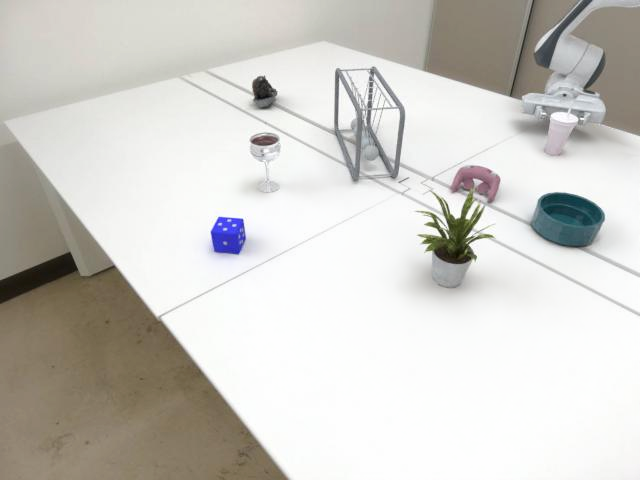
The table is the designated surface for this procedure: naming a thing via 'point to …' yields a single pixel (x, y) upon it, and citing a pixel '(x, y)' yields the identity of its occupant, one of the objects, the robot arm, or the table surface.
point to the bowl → (567, 218)
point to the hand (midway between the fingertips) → (561, 119)
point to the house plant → (453, 243)
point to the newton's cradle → (358, 124)
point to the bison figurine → (263, 92)
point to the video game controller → (480, 173)
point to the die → (228, 235)
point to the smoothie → (560, 130)
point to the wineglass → (266, 155)
